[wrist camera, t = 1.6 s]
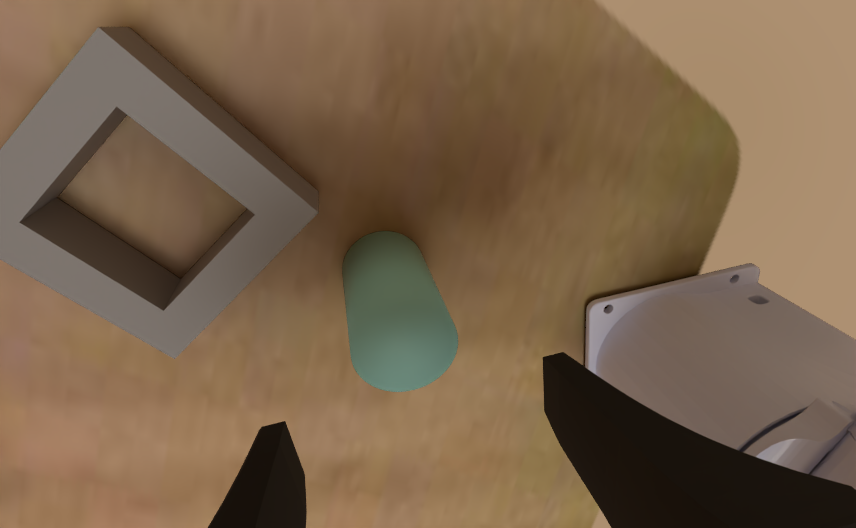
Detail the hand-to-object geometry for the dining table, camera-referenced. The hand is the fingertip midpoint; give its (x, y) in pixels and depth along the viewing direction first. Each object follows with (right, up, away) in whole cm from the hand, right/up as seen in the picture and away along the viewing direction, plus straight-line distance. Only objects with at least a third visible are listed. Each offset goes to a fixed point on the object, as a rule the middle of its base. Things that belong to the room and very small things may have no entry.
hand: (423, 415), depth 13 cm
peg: (-2, +4, +8) cm, 9 cm away
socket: (-10, +7, +5) cm, 13 cm away
